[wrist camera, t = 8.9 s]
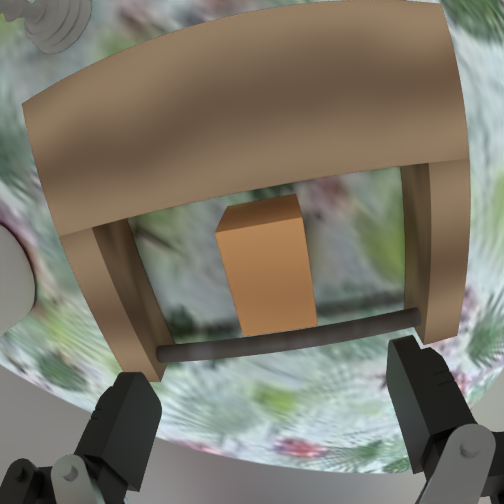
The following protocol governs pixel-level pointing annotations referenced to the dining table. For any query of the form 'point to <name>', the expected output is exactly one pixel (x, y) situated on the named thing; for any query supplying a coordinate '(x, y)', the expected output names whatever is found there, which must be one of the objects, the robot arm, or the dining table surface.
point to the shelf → (258, 154)
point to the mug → (14, 282)
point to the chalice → (50, 21)
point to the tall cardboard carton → (267, 265)
